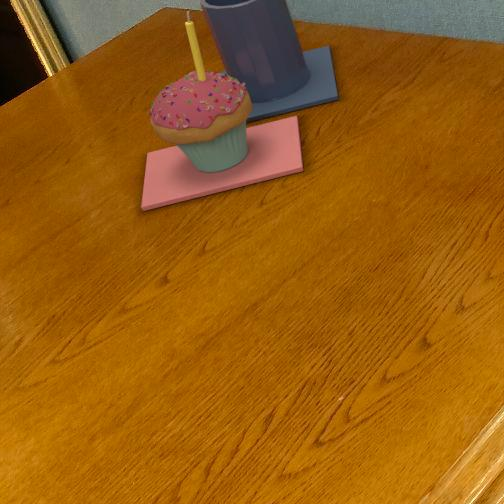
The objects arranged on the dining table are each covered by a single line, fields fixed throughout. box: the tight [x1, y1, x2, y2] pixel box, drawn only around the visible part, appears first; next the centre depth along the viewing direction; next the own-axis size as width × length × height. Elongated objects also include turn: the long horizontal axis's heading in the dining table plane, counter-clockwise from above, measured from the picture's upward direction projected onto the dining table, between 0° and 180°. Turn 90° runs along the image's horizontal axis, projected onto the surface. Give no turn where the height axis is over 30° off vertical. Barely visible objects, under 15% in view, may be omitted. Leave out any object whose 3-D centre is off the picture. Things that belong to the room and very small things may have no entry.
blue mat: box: [219, 45, 340, 124], centre depth 97 cm, size 12×12×1 cm
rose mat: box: [140, 115, 304, 212], centre depth 88 cm, size 14×10×1 cm
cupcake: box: [148, 10, 252, 172], centre depth 83 cm, size 9×8×12 cm
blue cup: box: [199, 0, 310, 103], centre depth 94 cm, size 7×7×9 cm
